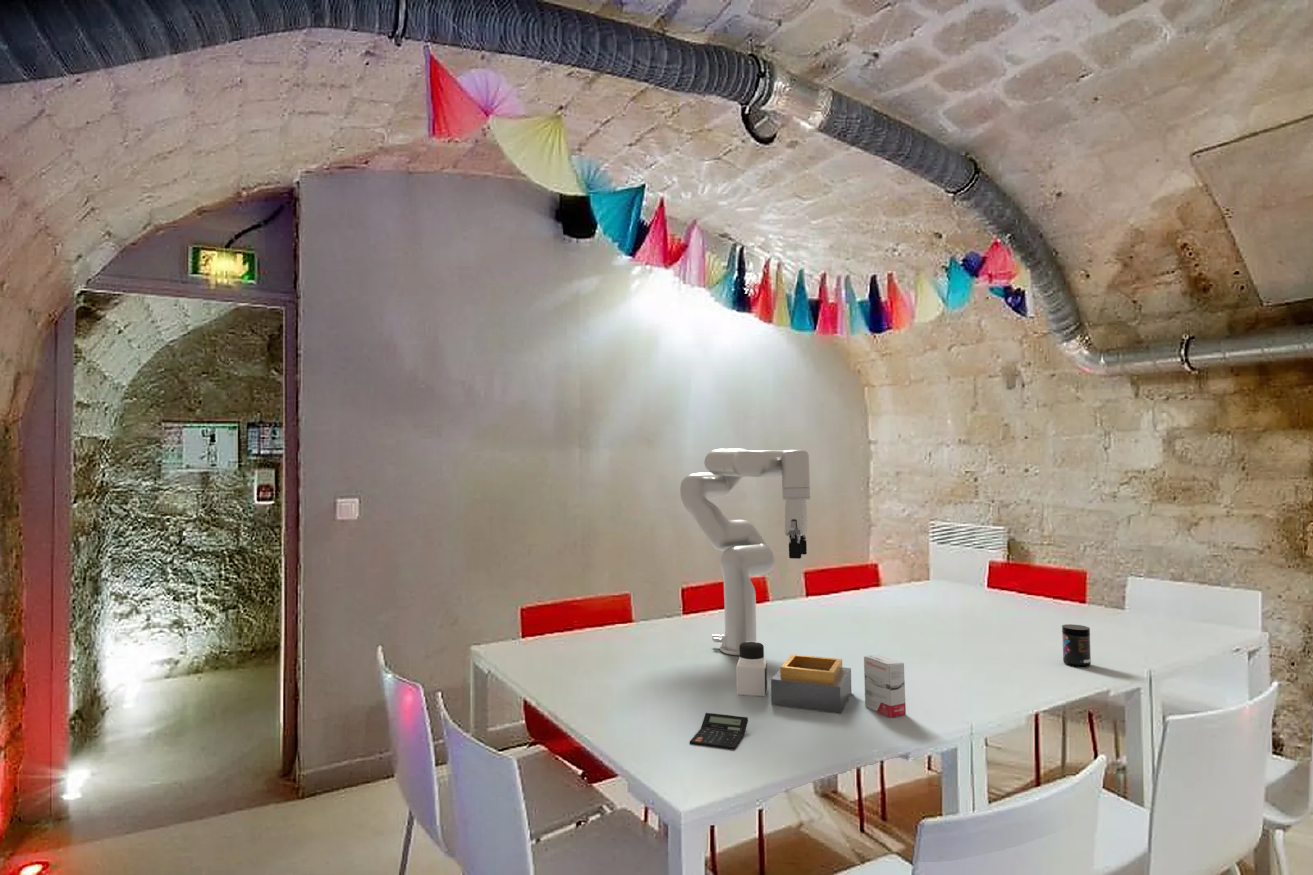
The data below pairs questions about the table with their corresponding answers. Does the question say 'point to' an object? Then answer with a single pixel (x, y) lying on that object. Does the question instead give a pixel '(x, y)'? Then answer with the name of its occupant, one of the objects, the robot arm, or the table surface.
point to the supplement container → (1076, 645)
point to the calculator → (721, 731)
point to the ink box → (884, 685)
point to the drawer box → (812, 684)
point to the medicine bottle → (751, 670)
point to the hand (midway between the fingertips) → (798, 556)
